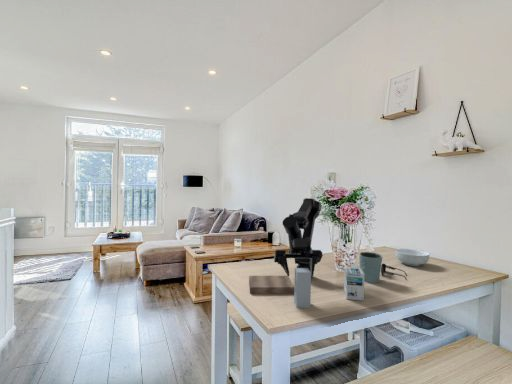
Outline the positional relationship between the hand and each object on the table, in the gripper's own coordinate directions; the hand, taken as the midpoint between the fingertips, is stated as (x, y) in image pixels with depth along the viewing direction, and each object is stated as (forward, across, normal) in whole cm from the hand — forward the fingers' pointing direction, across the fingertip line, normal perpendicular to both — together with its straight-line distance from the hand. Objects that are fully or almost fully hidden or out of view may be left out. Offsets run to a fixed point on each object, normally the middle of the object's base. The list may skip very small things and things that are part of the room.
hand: (300, 275), depth 107 cm
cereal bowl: (-27, +74, +41) cm, 89 cm away
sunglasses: (-13, +53, +28) cm, 61 cm away
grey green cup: (-9, +38, +23) cm, 45 cm away
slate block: (+9, 0, +5) cm, 10 cm away
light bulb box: (+3, +23, +11) cm, 26 cm away
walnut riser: (-4, -10, +17) cm, 20 cm away
